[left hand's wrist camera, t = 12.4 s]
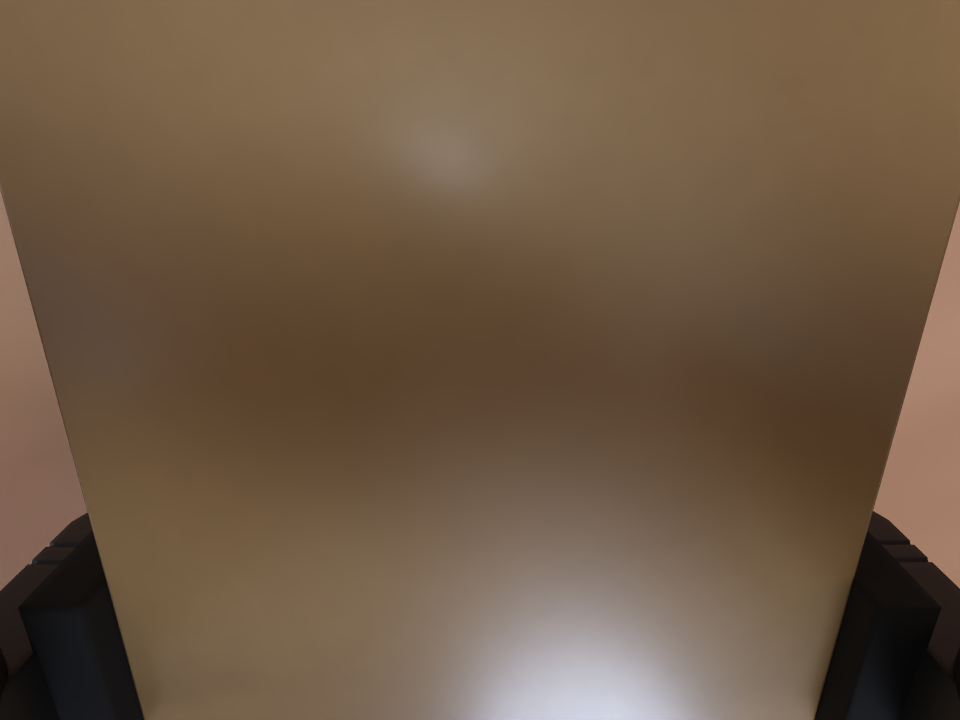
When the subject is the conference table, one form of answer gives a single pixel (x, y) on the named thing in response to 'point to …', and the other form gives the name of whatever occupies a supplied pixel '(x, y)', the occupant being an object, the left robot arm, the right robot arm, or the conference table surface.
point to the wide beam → (480, 337)
